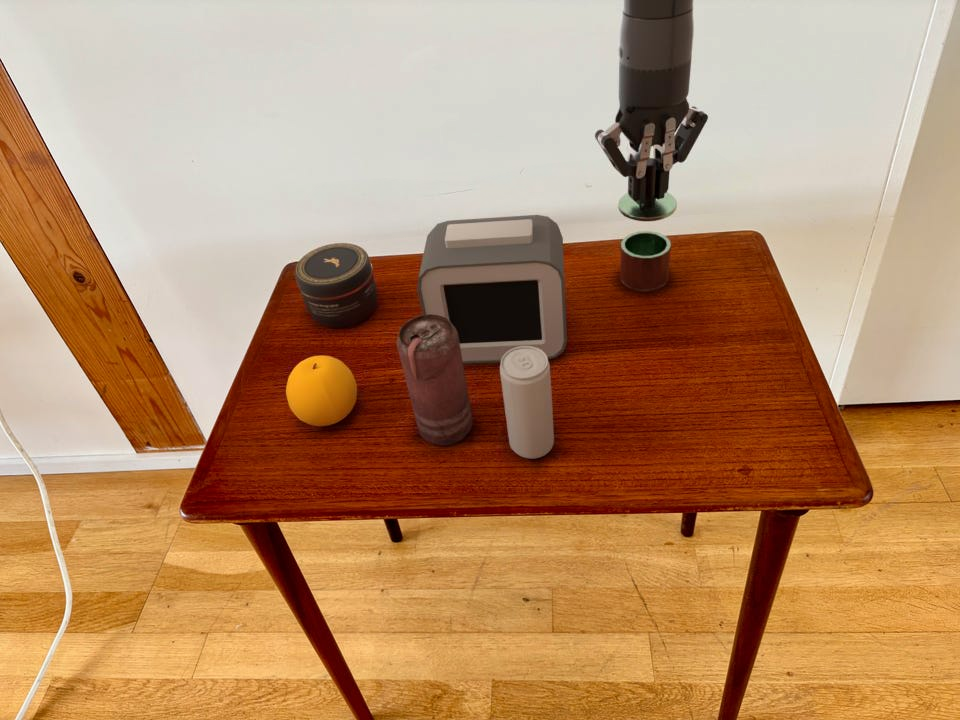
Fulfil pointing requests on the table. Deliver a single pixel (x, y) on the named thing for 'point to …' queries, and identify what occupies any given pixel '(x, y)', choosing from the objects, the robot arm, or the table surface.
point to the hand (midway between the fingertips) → (647, 198)
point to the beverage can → (527, 401)
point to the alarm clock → (497, 284)
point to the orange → (321, 390)
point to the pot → (645, 261)
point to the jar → (337, 284)
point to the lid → (648, 199)
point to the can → (435, 378)
